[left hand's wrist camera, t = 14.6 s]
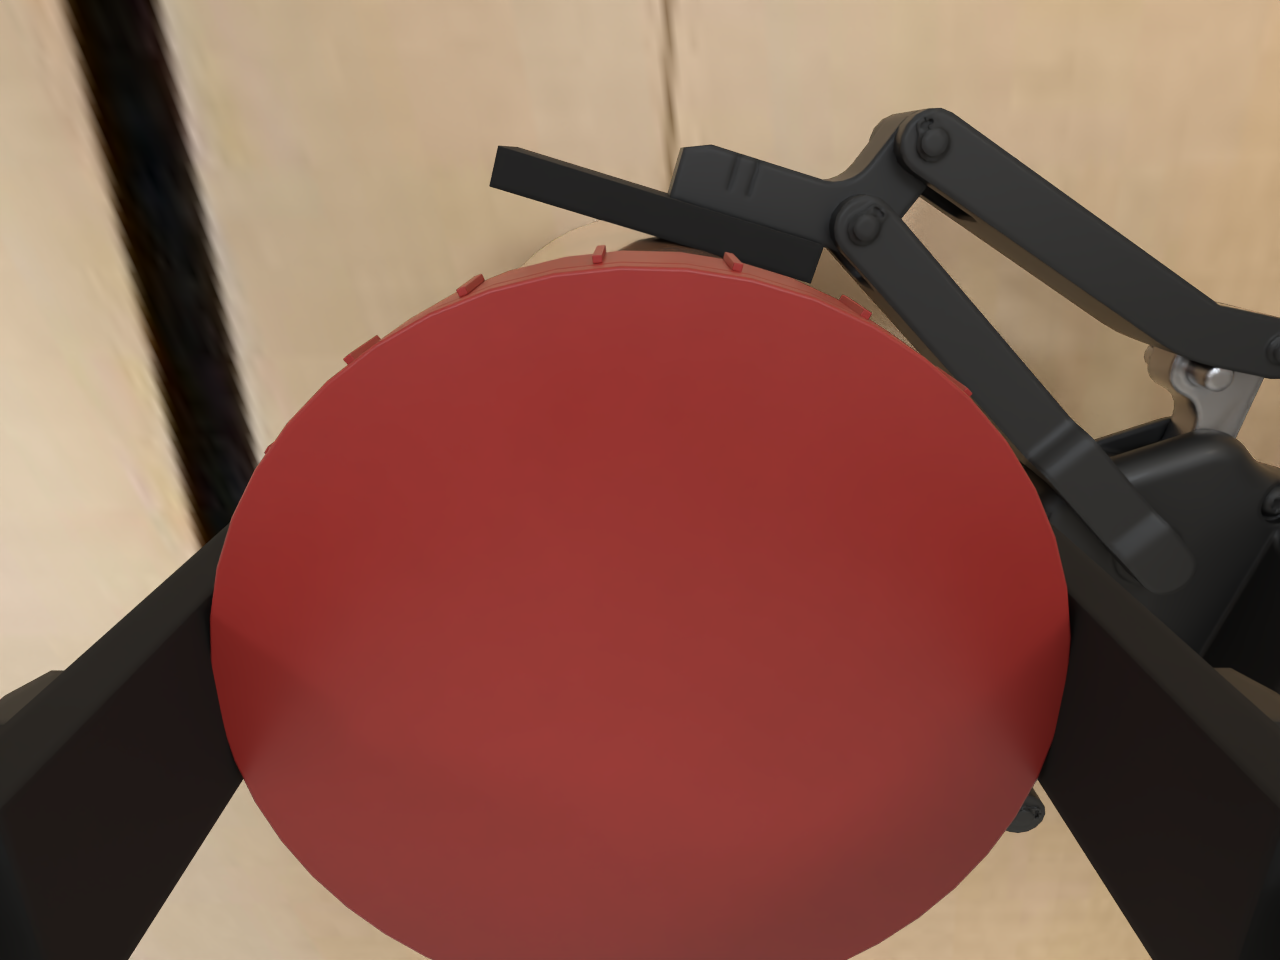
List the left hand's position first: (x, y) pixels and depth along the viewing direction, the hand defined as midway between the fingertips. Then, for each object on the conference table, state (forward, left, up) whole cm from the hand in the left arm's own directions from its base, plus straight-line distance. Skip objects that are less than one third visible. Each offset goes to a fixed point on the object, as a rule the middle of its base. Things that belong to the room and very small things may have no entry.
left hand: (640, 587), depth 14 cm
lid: (0, 0, +3) cm, 3 cm away
